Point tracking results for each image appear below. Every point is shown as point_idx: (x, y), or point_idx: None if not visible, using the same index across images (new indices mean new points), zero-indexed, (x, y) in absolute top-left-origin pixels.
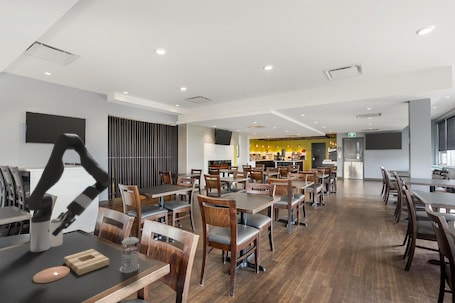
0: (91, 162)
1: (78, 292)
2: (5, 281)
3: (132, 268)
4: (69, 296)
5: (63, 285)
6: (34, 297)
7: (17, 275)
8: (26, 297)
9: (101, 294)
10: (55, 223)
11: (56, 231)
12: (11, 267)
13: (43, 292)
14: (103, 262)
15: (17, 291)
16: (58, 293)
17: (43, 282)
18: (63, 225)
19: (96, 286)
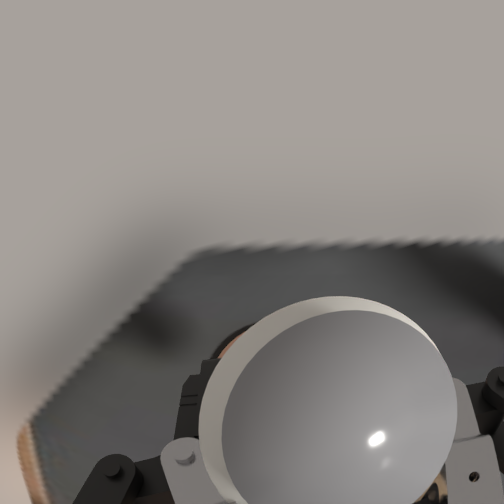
0: None
1: (68, 419)
2: (336, 245)
3: None
4: (65, 393)
5: (145, 406)
6: (131, 317)
7: (367, 276)
8: (150, 298)
9: (26, 449)
10: (203, 396)
11: (182, 402)
12: (447, 257)
13: (143, 343)
14: None
15: (218, 278)
16: (102, 377)
17: (221, 354)
18: (91, 479)
19: (68, 468)
